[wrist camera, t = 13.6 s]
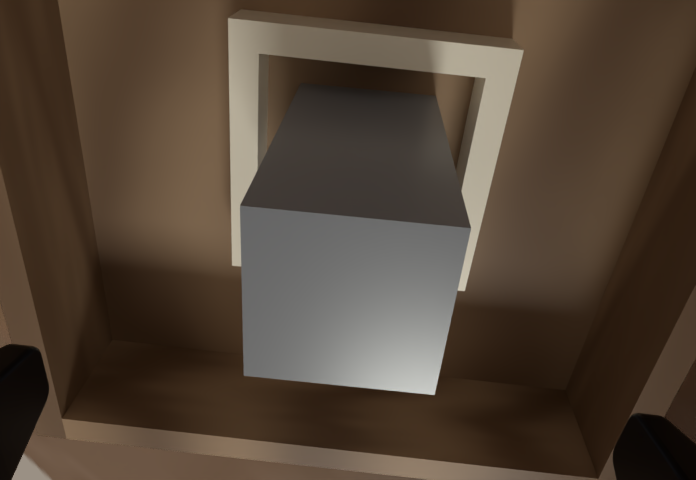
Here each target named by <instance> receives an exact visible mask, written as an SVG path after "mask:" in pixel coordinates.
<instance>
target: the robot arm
mask: <svg viewBox="0 0 696 480" xmlns="http://www.w3.org/2000/svg"><path fill="white" fill-rule="evenodd" d="M48 395H49V382H48V378H47V374H46V370H45V366H44V363H43V359H42V355H41V352H40V350H39V349H38V348H37V347H34V346H28V345H19V344H9V345H6V346H4V347H1V348H0V480H12V477H13V475H14V473H15V471H16V468H17V466H18V464H19V462H20V459H21V457H22V455H23V453H24V451H25V448H26V446H27V444H28V442H29V439H30V437H31V435H32V433H33V431H34V428H35V426H36V424H37V422H38V419H39V417H40V415H41V413H42V411H43V408H44V406H45V404H46V401H47V398H48ZM613 466H614V471H615V476H616V480H696V444H695V443H694V442H693V441H691V440H690V439H689V438H688V437H687V436H686V435H685V434H683V433H682V432H681V431H680V430H679V429H678V428H676V427H675V426H674V425H673V424H672V423H671V422H669V421H668V420H667V419H666V418H664V417H662V416H659V415H653V414H644V413H634V414H633V415H631V416H630V418H629V419H628V421H627V423H626V425H625V427H624V429H623V431H622V433H621V435H620V437H619V439H618V441H617V443H616V445H615V447H614V450H613Z"/></svg>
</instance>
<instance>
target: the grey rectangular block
mask: <svg viewBox="0 0 696 480" xmlns="http://www.w3.org/2000/svg"><path fill="white" fill-rule="evenodd" d="M240 232H241V276H242V320H243V364H244V376H251V377H261V378H271V379H281V380H291V381H301V382H311V383H321V384H330V385H340V386H350V387H360V388H370V389H380V390H390V391H400V392H409V393H419V394H429V395H435V391H436V386H437V382H438V377H439V373H440V368H441V364H442V359H443V355H444V350H445V345H446V341H447V336H448V332H449V327H450V323H451V318H452V314H453V309H454V304H455V300H456V295H457V291H458V286H459V282H460V277H461V273H462V268H463V263H464V259H465V254H466V250H467V245H468V241H469V236H470V232H471V226H470V222H469V218H468V214H467V211H466V207H465V203H464V199H463V195H462V192H461V188H460V184H459V180H458V177H457V173H456V169H455V165H454V162H453V158H452V154H451V150H450V147H449V143H448V139H447V135H446V132H445V128H444V124H443V120H442V117H441V113H440V109H439V105H438V102H437V98H436V96H433V95H422V94H411V93H401V92H390V91H380V90H369V89H359V88H348V87H338V86H327V85H317V84H306V83H301V84H300V86H299V88H298V90H297V92H296V94H295V96H294V98H293V100H292V102H291V104H290V106H289V108H288V110H287V112H286V114H285V116H284V118H283V120H282V122H281V124H280V126H279V128H278V130H277V132H276V134H275V136H274V138H273V140H272V142H271V144H270V146H269V148H268V150H267V152H266V154H265V156H264V158H263V160H262V162H261V164H260V166H259V168H258V170H257V172H256V174H255V176H254V178H253V180H252V182H251V184H250V186H249V188H248V190H247V192H246V194H245V196H244V198H243V200H242V202H241V204H240Z"/></svg>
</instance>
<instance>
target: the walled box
mask: <svg viewBox="0 0 696 480" xmlns="http://www.w3.org/2000/svg"><path fill="white" fill-rule="evenodd" d="M301 83H306V84H317V85H327V86H338V87H348V88H359V89H369V90H380V91H390V92H401V93H411V94H422V95H433V96H436V98H437V102H438V105H439V109H440V113H441V117H442V120H443V124H444V128H445V132H446V135H447V139H448V143H449V147H450V150H451V154H452V158H453V162H454V165H455V169H456V173H457V177H458V180H459V184H460V188H461V192H462V195H463V199H464V203H465V207H466V211H467V214H468V218H469V222H470V226H471V232H470V236H469V241H468V245H467V250H466V254H465V259H464V263H463V268H462V273H461V277H460V282H459V286H458V291H457V295H456V300H455V304H454V309H453V314H452V318H451V323H450V327H449V332H448V336H447V341H446V345H445V350H444V355H443V359H442V364H441V368H440V373H439V377H438V382H437V386H436V391H435V395H429V394H419V393H409V392H400V391H390V390H380V389H370V388H360V387H350V386H340V385H330V384H321V383H311V382H301V381H291V380H281V379H271V378H261V377H251V376H244V364H243V320H242V276H241V232H240V204H241V202H242V200H243V198H244V196H245V194H246V192H247V190H248V188H249V186H250V184H251V182H252V180H253V178H254V176H255V174H256V172H257V170H258V168H259V166H260V164H261V162H262V160H263V158H264V156H265V154H266V152H267V150H268V148H269V146H270V144H271V142H272V140H273V138H274V136H275V134H276V132H277V130H278V128H279V126H280V124H281V122H282V120H283V118H284V116H285V114H286V112H287V110H288V108H289V106H290V104H291V102H292V100H293V98H294V96H295V94H296V92H297V90H298V88H299V86H300V84H301ZM0 303H1V307H2V310H3V314H4V317H5V321H6V324H7V328H8V332H9V335H10V339H11V342H12V344H19V345H28V346H34V347H37V348H38V349H39V350H40V352H41V355H42V359H43V363H44V366H45V370H46V374H47V378H48V382H49V395H48V398H47V401H46V404H45V406H44V408H43V411H42V413H41V415H40V417H39V419H38V422H37V424H36V426H35V428H36V431H37V435H38V436H45V437H54V438H63V439H71V440H80V441H89V442H98V443H107V444H116V445H125V446H134V447H143V448H152V449H161V450H170V451H179V452H187V453H196V454H205V455H214V456H223V457H232V458H241V459H250V460H259V461H268V462H277V463H286V464H294V465H303V466H312V467H321V468H330V469H339V470H348V471H357V472H366V473H375V474H384V475H393V476H401V477H410V478H419V479H428V480H616V476H615V471H614V466H613V450H614V447H615V445H616V443H617V441H618V439H619V437H620V435H621V433H622V431H623V429H624V427H625V425H626V423H627V421H628V419H629V418H630V416H631V415H633V414H634V413H644V414H653V415H659V416H662V417H664V416H665V414H666V412H667V410H668V409H669V407H670V405H671V403H672V401H673V399H674V398H675V396H676V394H677V392H678V390H679V388H680V387H681V385H682V383H683V381H684V379H685V377H686V376H687V374H688V372H689V370H690V368H691V366H692V365H693V363H694V361H695V359H696V0H0Z"/></svg>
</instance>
